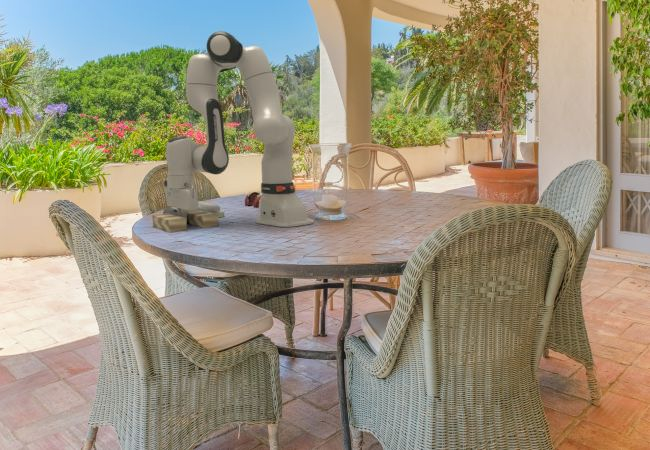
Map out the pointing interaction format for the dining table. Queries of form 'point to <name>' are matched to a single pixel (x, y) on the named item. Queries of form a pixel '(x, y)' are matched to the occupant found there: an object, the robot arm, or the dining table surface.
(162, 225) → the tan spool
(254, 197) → the teeth model
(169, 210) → the axle
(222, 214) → the plate with parallel rods
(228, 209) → the dining table surface
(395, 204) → the dining table surface
